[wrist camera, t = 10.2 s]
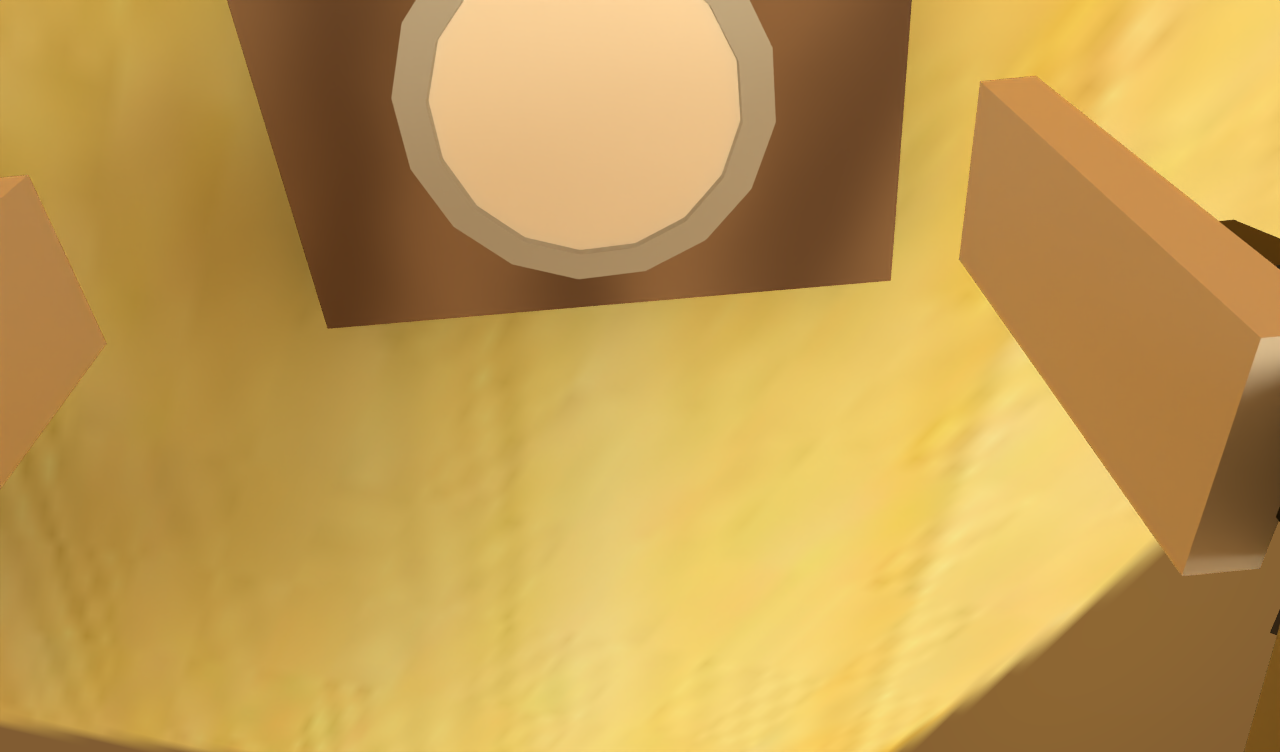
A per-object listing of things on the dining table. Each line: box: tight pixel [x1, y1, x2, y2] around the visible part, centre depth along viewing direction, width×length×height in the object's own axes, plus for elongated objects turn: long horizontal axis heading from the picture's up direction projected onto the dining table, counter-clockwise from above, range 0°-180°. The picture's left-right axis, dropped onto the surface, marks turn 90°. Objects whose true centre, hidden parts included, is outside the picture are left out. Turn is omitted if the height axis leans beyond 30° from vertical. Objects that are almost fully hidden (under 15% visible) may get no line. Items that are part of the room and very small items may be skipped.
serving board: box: [227, 0, 912, 328], centre depth 24 cm, size 16×16×2 cm
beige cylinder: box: [391, 0, 776, 279], centre depth 20 cm, size 7×7×7 cm
